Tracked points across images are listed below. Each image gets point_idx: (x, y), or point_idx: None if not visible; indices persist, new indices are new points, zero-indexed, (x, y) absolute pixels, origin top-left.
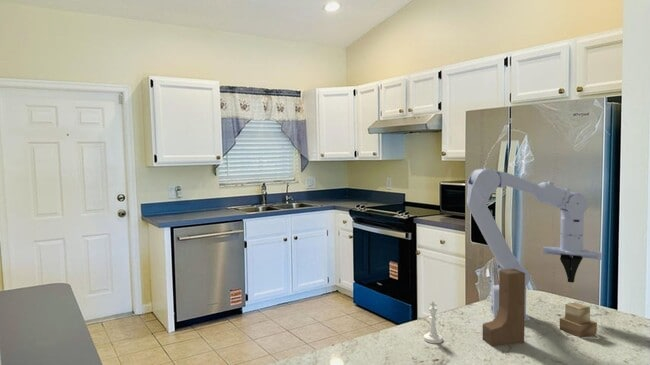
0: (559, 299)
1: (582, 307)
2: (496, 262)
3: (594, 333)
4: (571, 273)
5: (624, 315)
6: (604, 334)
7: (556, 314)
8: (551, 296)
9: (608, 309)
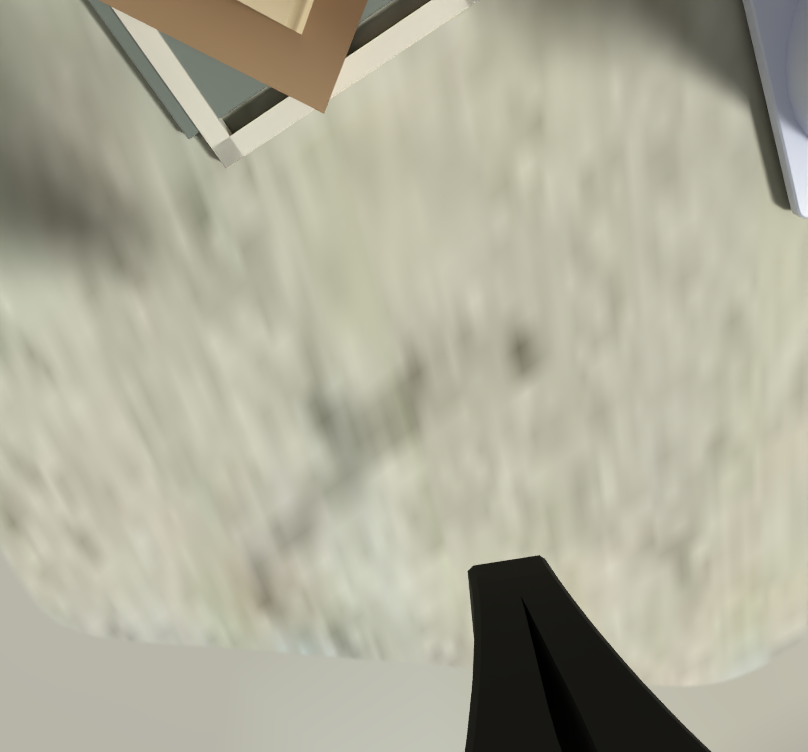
0: None
1: None
2: None
3: None
4: (536, 685)
5: (159, 609)
6: (70, 94)
7: (539, 349)
8: None
9: (274, 647)
